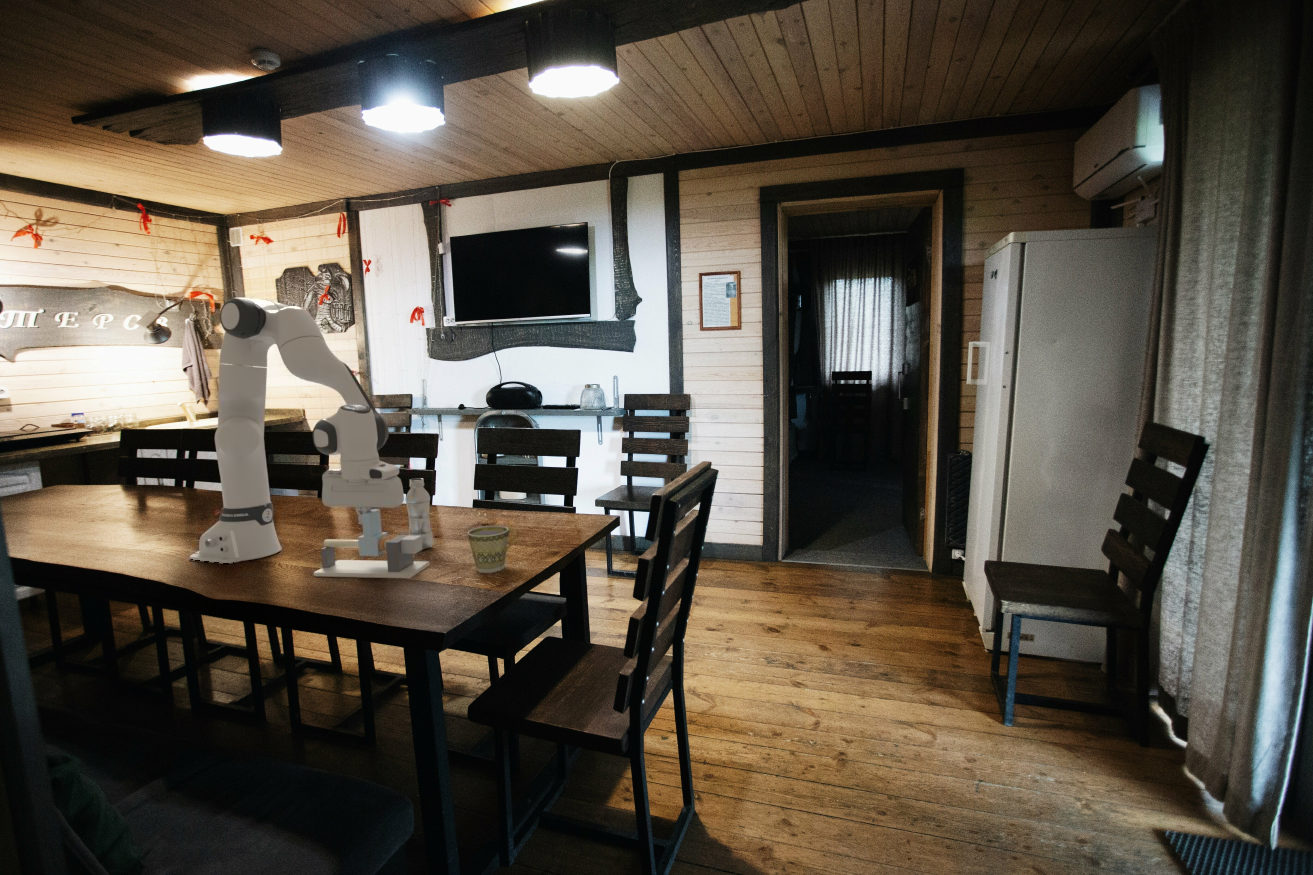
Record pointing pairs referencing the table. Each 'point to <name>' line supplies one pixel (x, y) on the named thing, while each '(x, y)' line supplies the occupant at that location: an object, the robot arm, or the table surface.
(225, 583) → the table surface
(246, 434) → the robot arm
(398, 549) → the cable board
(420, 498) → the plastic bottle
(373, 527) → the pale blue stacked blocks
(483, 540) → the ceramic cup
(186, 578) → the table surface
